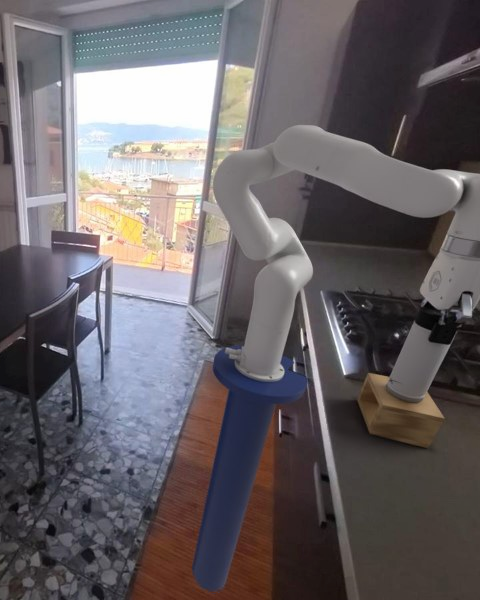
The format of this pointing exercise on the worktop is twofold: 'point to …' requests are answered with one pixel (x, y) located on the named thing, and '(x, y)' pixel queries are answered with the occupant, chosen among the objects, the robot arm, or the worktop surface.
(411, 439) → the shelf
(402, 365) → the travel mug
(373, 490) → the worktop surface
